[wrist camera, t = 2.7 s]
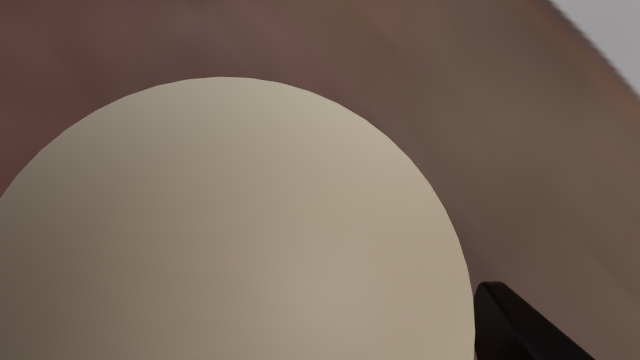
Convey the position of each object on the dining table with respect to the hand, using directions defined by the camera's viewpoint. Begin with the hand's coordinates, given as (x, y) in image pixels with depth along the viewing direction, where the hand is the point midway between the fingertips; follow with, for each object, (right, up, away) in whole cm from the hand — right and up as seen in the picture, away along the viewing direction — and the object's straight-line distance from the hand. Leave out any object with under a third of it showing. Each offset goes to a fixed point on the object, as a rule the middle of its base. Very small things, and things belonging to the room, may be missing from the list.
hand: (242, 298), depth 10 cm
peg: (-1, -2, +8) cm, 8 cm away
